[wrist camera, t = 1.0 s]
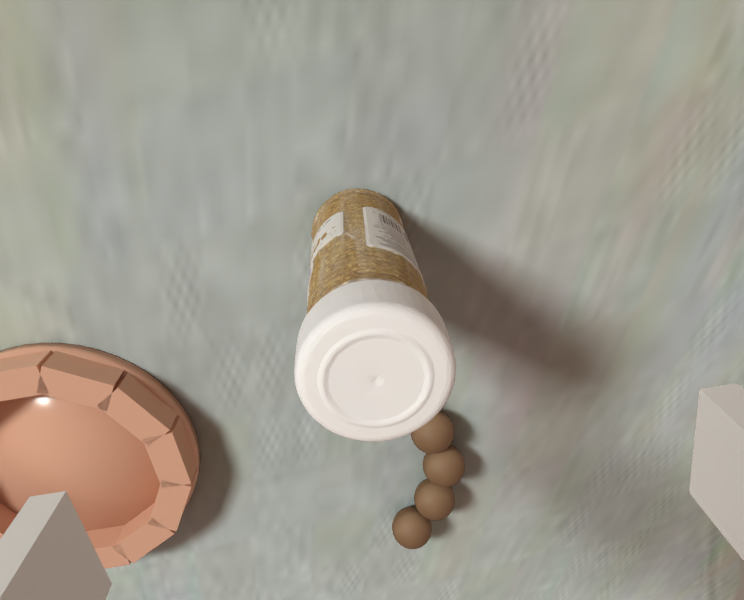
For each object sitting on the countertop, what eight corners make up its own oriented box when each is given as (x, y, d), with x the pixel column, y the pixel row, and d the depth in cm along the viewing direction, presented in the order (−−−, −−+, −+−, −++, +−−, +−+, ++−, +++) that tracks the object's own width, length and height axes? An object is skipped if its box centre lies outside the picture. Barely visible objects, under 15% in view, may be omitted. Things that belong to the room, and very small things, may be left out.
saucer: (-109, 366, 29) (-143, 391, 27) (157, 322, 29) (143, 344, 27) (5, 557, 35) (-16, 590, 33) (227, 522, 35) (220, 552, 33)
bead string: (364, 376, 31) (366, 401, 29) (450, 362, 31) (459, 386, 29) (393, 529, 36) (397, 560, 34) (467, 517, 36) (476, 548, 34)
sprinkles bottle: (297, 206, 27) (264, 340, 15) (386, 172, 26) (430, 281, 14) (333, 288, 29) (330, 468, 16) (417, 257, 28) (479, 418, 16)
